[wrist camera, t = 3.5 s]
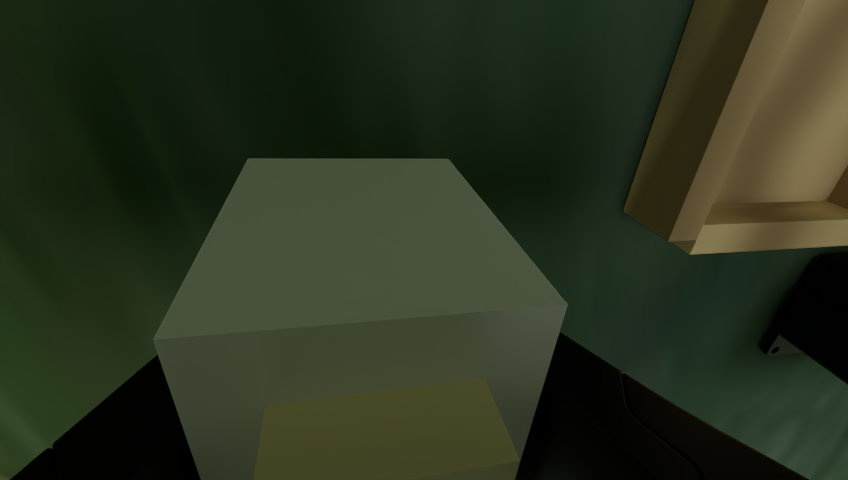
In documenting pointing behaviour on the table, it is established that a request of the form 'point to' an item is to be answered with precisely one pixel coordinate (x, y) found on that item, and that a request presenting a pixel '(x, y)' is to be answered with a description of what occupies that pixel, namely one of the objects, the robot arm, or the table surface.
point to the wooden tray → (751, 131)
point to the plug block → (358, 328)
